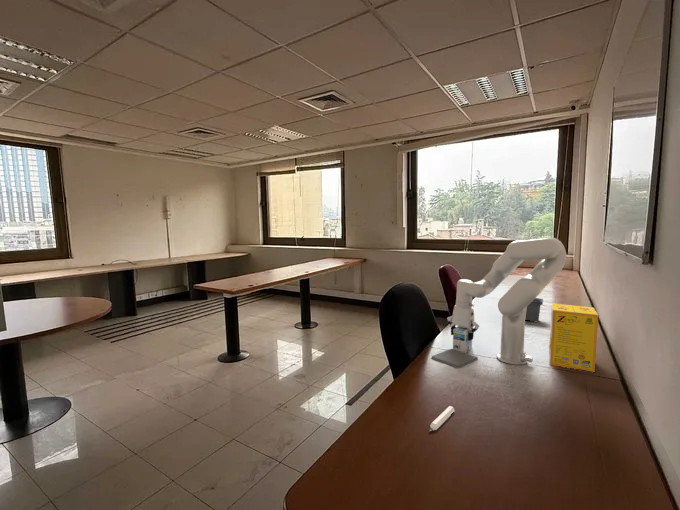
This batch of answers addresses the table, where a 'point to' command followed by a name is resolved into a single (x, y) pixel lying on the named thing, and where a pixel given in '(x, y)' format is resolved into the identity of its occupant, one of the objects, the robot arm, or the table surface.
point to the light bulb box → (461, 339)
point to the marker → (441, 418)
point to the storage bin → (534, 310)
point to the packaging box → (573, 336)
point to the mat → (454, 358)
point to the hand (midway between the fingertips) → (461, 337)
